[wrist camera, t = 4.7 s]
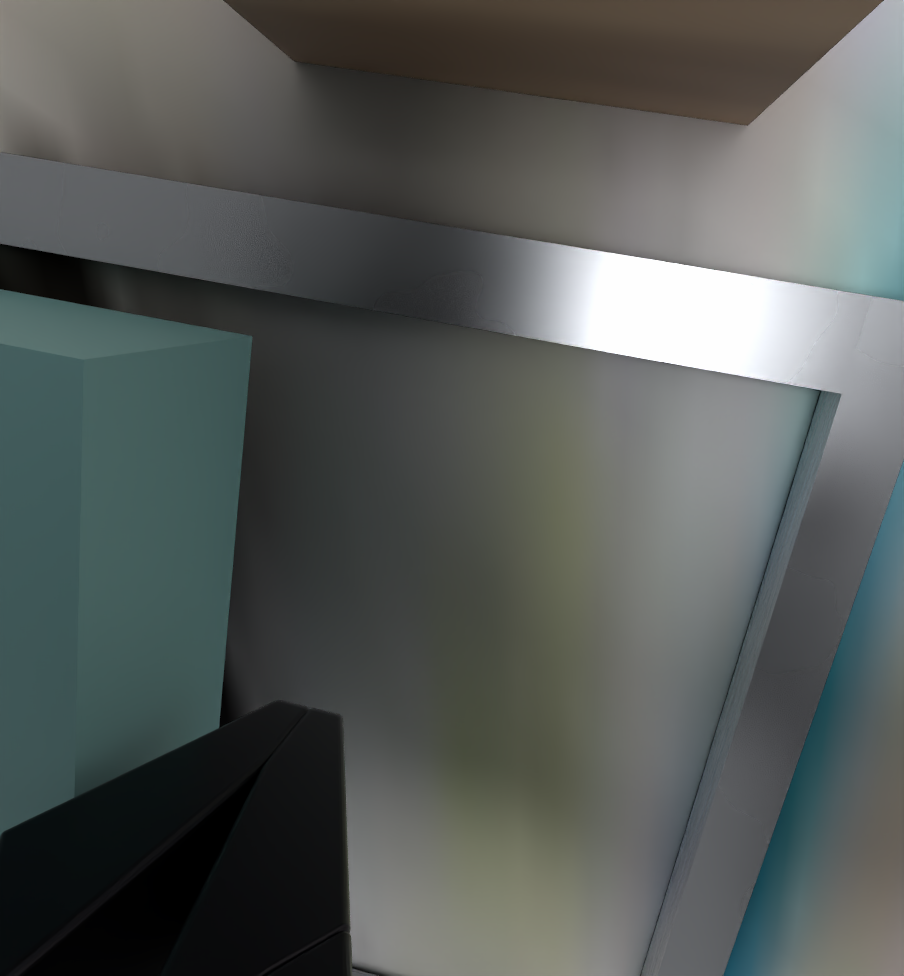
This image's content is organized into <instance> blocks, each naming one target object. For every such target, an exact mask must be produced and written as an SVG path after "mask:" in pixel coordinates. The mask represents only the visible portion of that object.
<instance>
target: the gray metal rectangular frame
mask: <svg viewBox="0 0 904 976" xmlns="http://www.w3.org/2000/svg"><path fill="white" fill-rule="evenodd" d="M0 244H6V245H11V246H17V247H22V248H28V249H34V250H39V251H45V252H50V253H56V254H62V255H67V256H73V257H78V258H84V259H90V260H95V261H101V262H106V263H112V264H118V265H123V266H129V267H134V268H140V269H146V270H151V271H157V272H162V273H168V274H174V275H179V276H185V277H190V278H196V279H202V280H207V281H213V282H218V283H224V284H230V285H235V286H241V287H246V288H252V289H257V290H263V291H269V292H274V293H280V294H285V295H291V296H297V297H302V298H308V299H313V300H319V301H325V302H330V303H336V304H341V305H347V306H353V307H358V308H364V309H369V310H375V311H381V312H386V313H392V314H397V315H403V316H409V317H414V318H420V319H425V320H431V321H437V322H442V323H448V324H453V325H459V326H465V327H470V328H476V329H481V330H487V331H493V332H498V333H504V334H509V335H515V336H521V337H526V338H532V339H537V340H543V341H548V342H554V343H560V344H565V345H571V346H576V347H582V348H588V349H593V350H599V351H604V352H610V353H616V354H621V355H627V356H632V357H638V358H644V359H649V360H655V361H660V362H666V363H672V364H677V365H683V366H688V367H694V368H700V369H705V370H711V371H716V372H722V373H728V374H733V375H739V376H744V377H750V378H756V379H761V380H767V381H772V382H778V383H784V384H789V385H795V386H800V387H806V388H812V389H817V390H821V394H820V397H819V400H818V403H817V407H816V410H815V413H814V416H813V420H812V423H811V426H810V429H809V432H808V436H807V439H806V442H805V445H804V449H803V452H802V455H801V458H800V462H799V465H798V468H797V471H796V475H795V478H794V481H793V484H792V488H791V491H790V494H789V497H788V501H787V504H786V507H785V510H784V513H783V517H782V520H781V523H780V526H779V530H778V533H777V536H776V539H775V543H774V546H773V549H772V552H771V556H770V559H769V562H768V565H767V569H766V572H765V575H764V578H763V582H762V585H761V588H760V591H759V594H758V598H757V601H756V604H755V607H754V611H753V614H752V617H751V620H750V624H749V627H748V630H747V633H746V637H745V640H744V643H743V646H742V650H741V653H740V656H739V659H738V663H737V666H736V669H735V672H734V675H733V679H732V682H731V685H730V688H729V692H728V695H727V698H726V701H725V705H724V708H723V711H722V714H721V718H720V721H719V724H718V727H717V731H716V734H715V737H714V740H713V744H712V747H711V750H710V753H709V756H708V760H707V763H706V766H705V769H704V773H703V776H702V779H701V782H700V786H699V789H698V792H697V795H696V799H695V802H694V805H693V808H692V812H691V815H690V818H689V821H688V825H687V828H686V831H685V834H684V838H683V841H682V844H681V847H680V850H679V854H678V857H677V860H676V863H675V867H674V870H673V873H672V876H671V880H670V883H669V886H668V889H667V893H666V896H665V899H664V902H663V906H662V909H661V912H660V915H659V919H658V922H657V925H656V928H655V931H654V935H653V938H652V941H651V944H650V948H649V951H648V954H647V957H646V961H645V964H644V967H643V970H642V974H641V976H723V974H724V971H725V969H726V966H727V963H728V960H729V957H730V954H731V951H732V949H733V946H734V943H735V940H736V937H737V934H738V931H739V929H740V926H741V923H742V920H743V917H744V914H745V911H746V909H747V906H748V903H749V900H750V897H751V894H752V891H753V889H754V886H755V883H756V880H757V877H758V874H759V871H760V869H761V866H762V863H763V860H764V857H765V854H766V851H767V849H768V846H769V843H770V840H771V837H772V834H773V831H774V829H775V826H776V823H777V820H778V817H779V814H780V811H781V809H782V806H783V803H784V800H785V797H786V794H787V791H788V789H789V786H790V783H791V780H792V777H793V774H794V771H795V769H796V766H797V763H798V760H799V757H800V754H801V751H802V749H803V746H804V743H805V740H806V737H807V734H808V731H809V729H810V726H811V723H812V720H813V717H814V714H815V711H816V709H817V706H818V703H819V700H820V697H821V694H822V691H823V689H824V686H825V683H826V680H827V677H828V674H829V671H830V669H831V666H832V663H833V660H834V657H835V654H836V651H837V649H838V646H839V643H840V640H841V637H842V634H843V631H844V629H845V626H846V623H847V620H848V617H849V614H850V611H851V609H852V606H853V603H854V600H855V597H856V594H857V591H858V589H859V586H860V583H861V580H862V577H863V574H864V571H865V569H866V566H867V563H868V560H869V557H870V554H871V551H872V549H873V546H874V543H875V540H876V537H877V534H878V531H879V529H880V526H881V523H882V520H883V517H884V514H885V511H886V509H887V506H888V503H889V500H890V497H891V494H892V491H893V489H894V486H895V483H896V480H897V477H898V474H899V471H900V469H901V466H902V463H903V460H904V301H900V300H893V299H887V298H881V297H875V296H869V295H863V294H857V293H851V292H845V291H839V290H833V289H827V288H821V287H815V286H809V285H803V284H796V283H790V282H784V281H778V280H772V279H766V278H760V277H754V276H748V275H742V274H736V273H730V272H724V271H718V270H712V269H706V268H699V267H693V266H687V265H681V264H675V263H669V262H663V261H657V260H651V259H645V258H639V257H633V256H627V255H621V254H615V253H609V252H602V251H596V250H590V249H584V248H578V247H572V246H566V245H560V244H554V243H548V242H542V241H536V240H530V239H524V238H518V237H512V236H505V235H499V234H493V233H487V232H481V231H475V230H469V229H463V228H457V227H451V226H445V225H439V224H433V223H427V222H421V221H415V220H408V219H402V218H396V217H390V216H384V215H378V214H372V213H366V212H360V211H354V210H348V209H342V208H336V207H330V206H324V205H318V204H311V203H305V202H299V201H293V200H287V199H281V198H275V197H269V196H263V195H257V194H251V193H245V192H239V191H233V190H227V189H221V188H214V187H208V186H202V185H196V184H190V183H184V182H178V181H172V180H166V179H160V178H154V177H148V176H142V175H136V174H130V173H124V172H117V171H111V170H105V169H99V168H93V167H87V166H81V165H75V164H69V163H63V162H57V161H51V160H45V159H39V158H33V157H27V156H20V155H14V154H8V153H2V152H0ZM352 975H353V976H377V975H374V974H370V973H366V972H363V971H359V970H355V969H352Z"/></svg>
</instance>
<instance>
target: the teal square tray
mask: <svg viewBox="0 0 904 976" xmlns="http://www.w3.org/2000/svg"><path fill="white" fill-rule="evenodd" d="M251 348H252V336H249V335H244V334H239V333H233V332H228V331H223V330H217V329H212V328H206V327H201V326H196V325H190V324H185V323H179V322H174V321H169V320H163V319H158V318H152V317H147V316H142V315H136V314H131V313H126V312H120V311H115V310H109V309H104V308H99V307H93V306H88V305H82V304H77V303H72V302H66V301H61V300H55V299H50V298H45V297H39V296H34V295H29V294H23V293H18V292H12V291H7V290H2V289H0V835H1V833H2V832H4V831H5V830H8V829H10V828H12V827H14V826H16V825H18V824H20V823H22V822H24V821H26V820H28V819H30V818H32V817H35V816H37V815H39V814H41V813H43V812H45V811H47V810H49V809H51V808H53V807H55V806H57V805H60V804H62V803H64V802H66V801H68V800H70V799H72V798H74V797H76V796H78V795H80V794H82V793H85V792H87V791H89V790H91V789H93V788H95V787H97V786H99V785H101V784H103V783H105V782H107V781H110V780H112V779H114V778H116V777H118V776H120V775H122V774H124V773H126V772H128V771H130V770H132V769H134V768H137V767H139V766H141V765H143V764H145V763H147V762H149V761H151V760H153V759H155V758H157V757H159V756H162V755H164V754H166V753H168V752H170V751H172V750H174V749H176V748H178V747H180V746H182V745H184V744H187V743H189V742H191V741H193V740H195V739H197V738H199V737H201V736H203V735H205V734H207V733H209V732H211V731H214V730H216V729H218V728H219V722H220V711H221V699H222V687H223V675H224V664H225V652H226V640H227V629H228V617H229V605H230V594H231V582H232V570H233V558H234V547H235V535H236V523H237V512H238V500H239V488H240V477H241V465H242V453H243V441H244V430H245V418H246V406H247V395H248V383H249V371H250V360H251Z"/></svg>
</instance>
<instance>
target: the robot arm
mask: <svg viewBox="0 0 904 976" xmlns="http://www.w3.org/2000/svg"><path fill="white" fill-rule="evenodd" d="M0 976H353V975H352V950H351V936H350V903H349V874H348V845H347V816H346V787H345V757H344V728H343V718H342V716H341V715H339V714H336V713H332V712H328V711H323V710H319V709H315V708H311V709H309V708H308V707H306V706H303V705H298V704H294V703H290V702H286V701H282V700H277V701H274V702H272V703H270V704H268V705H266V706H264V707H261V708H259V709H257V710H255V711H253V712H251V713H249V714H247V715H245V716H243V717H241V718H239V719H236V720H234V721H232V722H230V723H228V724H226V725H224V726H222V727H220V728H218V729H216V730H214V731H211V732H209V733H207V734H205V735H203V736H201V737H199V738H197V739H195V740H193V741H191V742H189V743H187V744H184V745H182V746H180V747H178V748H176V749H174V750H172V751H170V752H168V753H166V754H164V755H162V756H159V757H157V758H155V759H153V760H151V761H149V762H147V763H145V764H143V765H141V766H139V767H137V768H134V769H132V770H130V771H128V772H126V773H124V774H122V775H120V776H118V777H116V778H114V779H112V780H110V781H107V782H105V783H103V784H101V785H99V786H97V787H95V788H93V789H91V790H89V791H87V792H85V793H82V794H80V795H78V796H76V797H74V798H72V799H70V800H68V801H66V802H64V803H62V804H60V805H57V806H55V807H53V808H51V809H49V810H47V811H45V812H43V813H41V814H39V815H37V816H35V817H32V818H30V819H28V820H26V821H24V822H22V823H20V824H18V825H16V826H14V827H12V828H10V829H8V830H5V831H4V832H2V833H1V835H0Z"/></svg>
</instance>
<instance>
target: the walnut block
mask: <svg viewBox="0 0 904 976" xmlns="http://www.w3.org/2000/svg"><path fill="white" fill-rule="evenodd" d="M223 1H225V2H226V3H227V4H228V5H229V6H230V7H232V8H233V9H234V10H235V11H236V12H237V13H239V14H240V15H241V16H242V17H243V18H244V19H246V20H247V21H248V22H249V23H250V24H251V25H253V26H254V27H255V28H256V29H257V30H258V31H260V32H261V33H262V34H263V35H264V36H265V37H267V38H268V39H269V40H270V41H271V42H272V43H274V44H275V45H276V46H277V47H278V48H279V49H281V50H282V51H283V52H284V53H285V54H287V55H288V56H289V57H290V58H291V59H292V60H294V61H296V62H303V63H310V64H317V65H324V66H331V67H338V68H345V69H352V70H359V71H366V72H373V73H381V74H388V75H395V76H402V77H409V78H416V79H423V80H430V81H437V82H444V83H451V84H458V85H465V86H472V87H479V88H486V89H493V90H500V91H507V92H515V93H522V94H529V95H536V96H543V97H550V98H557V99H564V100H571V101H578V102H585V103H592V104H599V105H606V106H613V107H620V108H627V109H634V110H641V111H649V112H656V113H663V114H670V115H677V116H684V117H691V118H698V119H705V120H712V121H719V122H726V123H733V124H740V125H747V126H748V125H749V124H750V123H751V122H752V121H753V120H754V119H755V118H757V117H758V116H759V115H760V114H761V113H762V112H763V111H764V110H765V109H766V108H767V107H768V106H770V105H771V104H772V103H773V102H774V101H775V100H776V99H777V98H778V97H779V96H780V95H781V94H783V93H784V92H785V91H786V90H787V89H788V88H789V87H790V86H791V85H792V84H793V83H795V82H796V81H797V80H798V79H799V78H800V77H801V76H802V75H803V74H804V73H805V72H806V71H808V70H809V69H810V68H811V67H812V66H813V65H814V64H815V63H816V62H817V61H818V60H820V59H821V58H822V57H823V56H824V55H825V54H826V53H827V52H828V51H829V50H830V49H831V48H833V47H834V46H835V45H836V44H837V43H838V42H839V41H840V40H841V39H842V38H843V37H844V36H846V35H847V34H848V33H849V32H850V31H851V30H852V29H853V28H854V27H855V26H856V25H858V24H859V23H860V22H861V21H862V20H863V19H864V18H865V17H866V16H867V15H868V14H869V13H871V12H872V11H873V10H874V9H875V8H876V7H877V6H878V5H879V4H880V3H881V2H882V1H884V0H223Z"/></svg>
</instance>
